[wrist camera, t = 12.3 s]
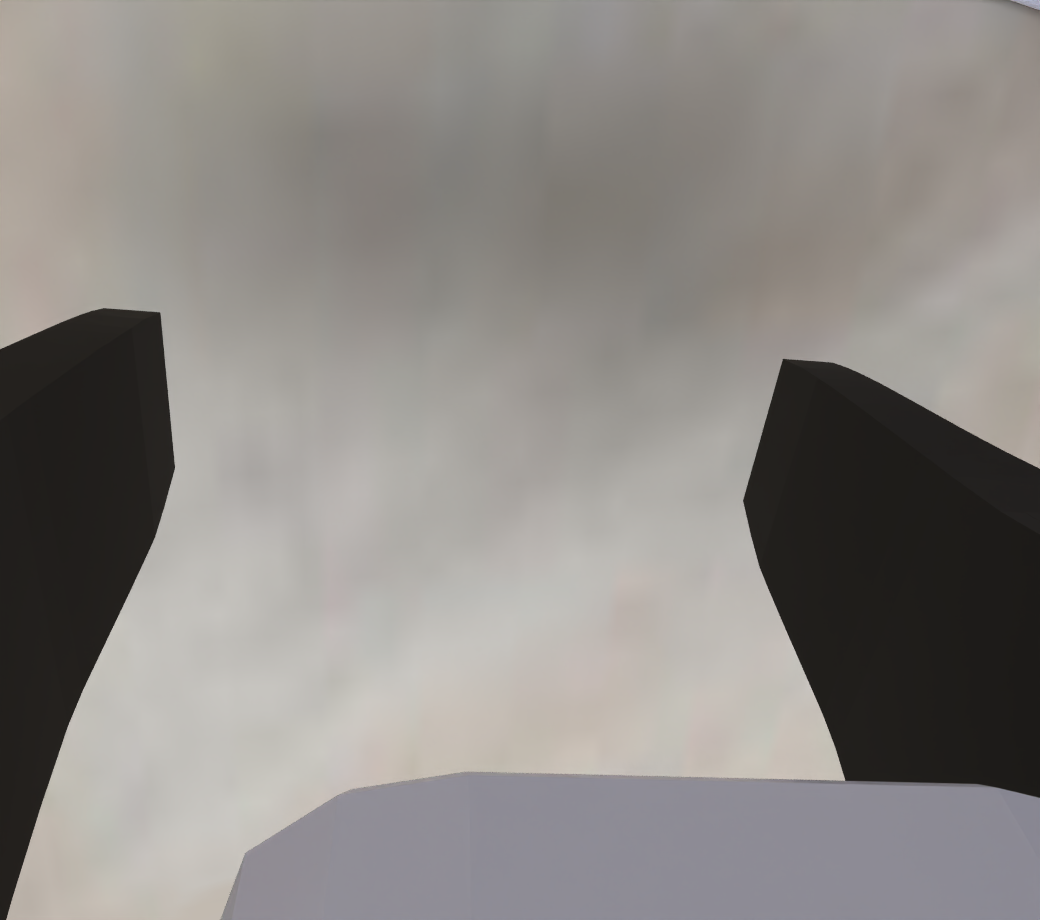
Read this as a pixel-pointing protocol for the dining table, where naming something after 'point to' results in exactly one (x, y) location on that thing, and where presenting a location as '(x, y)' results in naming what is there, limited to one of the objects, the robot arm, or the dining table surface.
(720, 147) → the dining table surface
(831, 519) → the robot arm
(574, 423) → the dining table surface
